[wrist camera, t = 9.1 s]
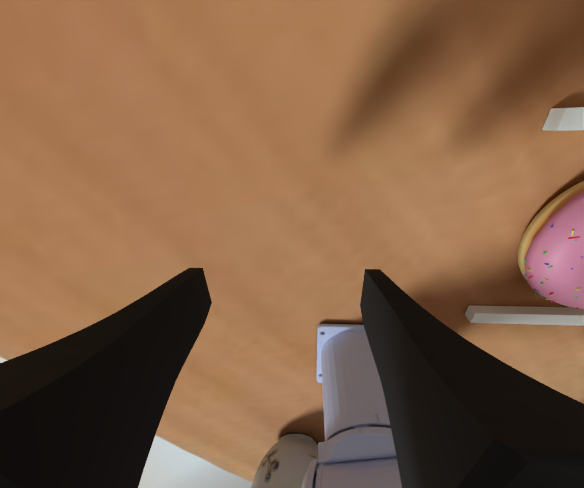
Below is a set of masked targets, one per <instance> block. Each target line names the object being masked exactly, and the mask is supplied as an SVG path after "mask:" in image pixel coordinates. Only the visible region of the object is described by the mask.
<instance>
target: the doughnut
mask: <svg viewBox="0 0 584 488" xmlns="http://www.w3.org/2000/svg"><path fill="white" fill-rule="evenodd" d="M518 264H519V268H520V270H521V273H522V275H523V276H524V278H525V279H526V280H527V282H528V284H529V286H530V287H531V288H532V289H533V290H534V291H535V292H536V293H535V294H539V295H541V296H543V297H545V298H546V299H545V300H551V302H550V303H554V302H556V303H559V305H565V306H568V307H572V308H576V309H578V308H580V309H584V181H582V182H580V183H578V184H576V185H574V186H573V187H571V188H569V189H568V190H566V191H564V192H563V193H561V194H560V195H558V196H557V197H556V198H554V199H553V200H552V201H551V202H549V203H548V204H547V205H546V206H545V207H544V208H543V209H542V210H541V211H540V212H539V213H538V214H537V215H536V216H535V217H534V219H533V220H532V221H531V223H530V224H529V226H528V227H527V229H526V230H525V232H524V234H523V236H522V239H521V242H520V245H519V249H518Z"/></svg>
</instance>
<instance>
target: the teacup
mask: <svg viewBox="0 0 584 488" xmlns="http://www.w3.org/2000/svg"><path fill="white" fill-rule="evenodd" d="M313 459H318V446H317V444H316V442H315V441H314V439H312V438H311V437H310V436H307V435H304V434H287V435H285V436H283V437H281V438H279V439H278V442H277V443H276V444H275V445H274V446H273V447H272V448H271V449H270V450H269V451H268V453H267V454H266V455H265V457H264V458H263V460H262V462H261V464H260V466H259V468H258V470H257V473H256V475H255V478H254V480H253V484H252V487H251V488H302V483H303V479H304V476H305V474H306V472H307V469H308V466H309V464H310V463H311V461H312V460H313Z"/></svg>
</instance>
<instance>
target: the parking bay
mask: <svg viewBox="0 0 584 488" xmlns="http://www.w3.org/2000/svg"><path fill="white" fill-rule="evenodd" d="M542 130H549V131H569V130H584V107H575V108H551V110H550V112H549V114H548V117H547V119H546V121H545V124H544V126H543V129H542ZM465 316H466V317H467V319H468V320H469V321H470V323H497V324H539V325H581V326H584V309H580V308H578V309H576V308H572V307H527V306H473V305H468V308H467V310H466V312H465Z"/></svg>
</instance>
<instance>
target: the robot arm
mask: <svg viewBox="0 0 584 488" xmlns="http://www.w3.org/2000/svg"><path fill="white" fill-rule="evenodd" d="M211 303H212V302H211V298H210V295H209V291H208V287H207V283H206V279H205V275H204V271H203V268H189V269H187V270H185V271H183V272H182V273H180V274H178V275H177V276H175V277H173V278H172V279H170V280H169V281H167V282H166V283H164V284H162V285H161V286H159V287H158V288H156V289H155V290H153V291H151V292H150V293H148V294H147V295H145V296H143V297H142V298H140V299H138V300H137V301H135V302H133V303H131V304H130V305H128V306H126V307H125V308H123V309H121V310H120V311H118V312H116V313H114V314H112V315H110V316H108V317H107V318H105V319H103V320H101V321H99V322H97V323H95V324H93V325H91V326H89V327H87V328H85V329H82V330H80V331H78V332H76V333H73V334H71V335H69V336H67V337H65V338H62V339H60V340H58V341H56V342H53V343H51V344H49V345H46V346H44V347H41V348H39V349H36V350H34V351H31V352H29V353H26V354H24V355H21V356H19V357H16V358H13V359H11V360H8V361H5V362H3V363H0V488H138V485H139V482H140V479H141V475H142V472H143V469H144V466H145V463H146V460H147V457H148V454H149V451H150V448H151V445H152V442H153V439H154V437H155V434H156V431H157V428H158V425H159V423H160V420H161V417H162V415H163V412H164V409H165V406H166V404H167V401H168V399H169V396H170V394H171V391H172V389H173V386H174V384H175V381H176V379H177V377H178V375H179V373H180V371H181V369H182V367H183V365H184V363H185V361H186V359H187V357H188V355H189V353H190V351H191V349H192V347H193V345H194V343H195V341H196V339H197V337H198V335H199V333H200V331H201V329H202V327H203V325H204V323H205V321H206V318H207V315H208V312H209V309H210V306H211ZM360 307H361V313H362V318H363V324H364V325H350V324H320V325H318V332H317V382H319V383H322V386H323V407H324V429H325V441H324V442H319V443H318V459H313V460H312V461H311V463H310V464H309V466H308V469H307V472H306V474H305V476H304V479H303V483H302V488H584V404H583V403H580V402H578V401H576V400H574V399H572V398H570V397H568V396H566V395H564V394H562V393H560V392H558V391H556V390H554V389H552V388H550V387H548V386H546V385H544V384H542V383H540V382H538V381H536V380H535V379H533V378H531V377H529V376H527V375H525V374H523V373H521V372H520V371H518V370H516V369H514V368H512V367H511V366H509V365H507V364H505V363H504V362H502V361H500V360H498V359H497V358H495V357H493V356H492V355H490V354H488V353H487V352H485V351H483V350H482V349H480V348H478V347H477V346H475V345H474V344H472V343H471V342H469V341H467V340H466V339H464V338H463V337H462V336H460V335H459V334H457V333H456V332H454V331H453V330H451V329H450V328H448V327H447V326H446V325H444V324H443V323H441V322H440V321H439V320H437V319H436V318H435V317H434V316H432V315H431V314H430V313H428V312H427V311H426V310H425V309H423V308H422V307H421V306H420V305H419V304H417V303H416V302H415V301H414V300H413V299H412V298H410V297H409V296H408V295H407V294H406V293H405V292H404V291H403V290H401V289H400V288H399V287H398V286H397V285H396V284H395V283H394V282H393V281H392V280H391V279H390V278H389V277H387V276H386V275H385V274H384V273H383V272H382V271H381V270H380V269H365V274H364V282H363V289H362V297H361V304H360Z"/></svg>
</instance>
